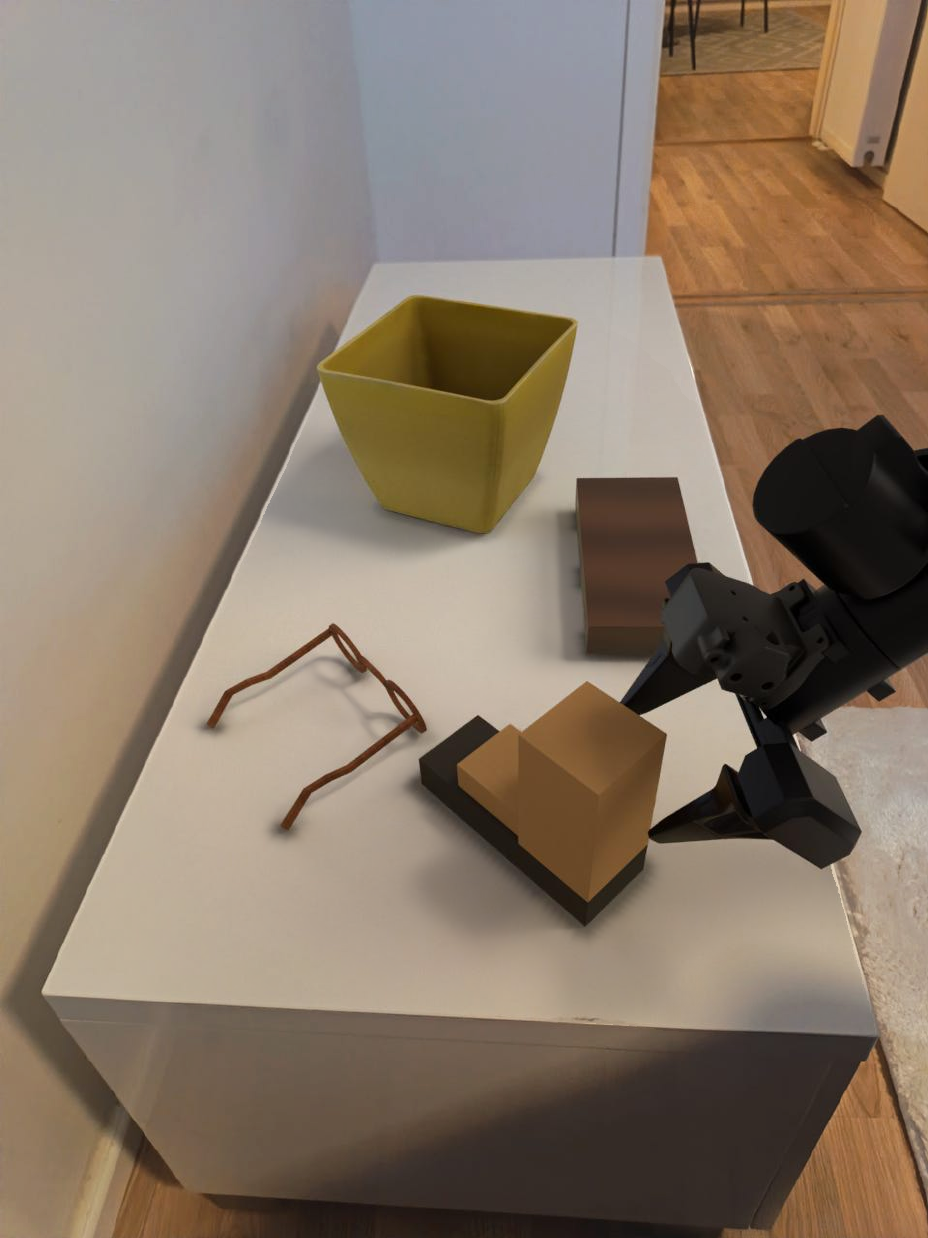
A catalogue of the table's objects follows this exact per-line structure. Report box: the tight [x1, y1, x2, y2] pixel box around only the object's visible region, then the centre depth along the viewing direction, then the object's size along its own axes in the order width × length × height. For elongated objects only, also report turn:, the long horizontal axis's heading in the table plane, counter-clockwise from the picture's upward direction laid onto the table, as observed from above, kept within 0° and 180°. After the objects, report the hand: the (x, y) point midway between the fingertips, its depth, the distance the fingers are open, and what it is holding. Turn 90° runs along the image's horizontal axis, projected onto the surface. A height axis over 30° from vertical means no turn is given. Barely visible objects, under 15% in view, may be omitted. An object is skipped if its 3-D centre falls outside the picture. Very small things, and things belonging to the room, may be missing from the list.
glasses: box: [206, 622, 428, 831], centre depth 67 cm, size 13×13×5 cm
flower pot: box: [316, 294, 579, 534], centre depth 88 cm, size 19×19×17 cm
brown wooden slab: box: [574, 476, 699, 655], centre depth 80 cm, size 22×10×4 cm, turn 177°
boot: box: [418, 680, 668, 927], centre depth 57 cm, size 16×6×14 cm, turn 43°
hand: (635, 772), depth 52 cm, fingers open, 9 cm apart
